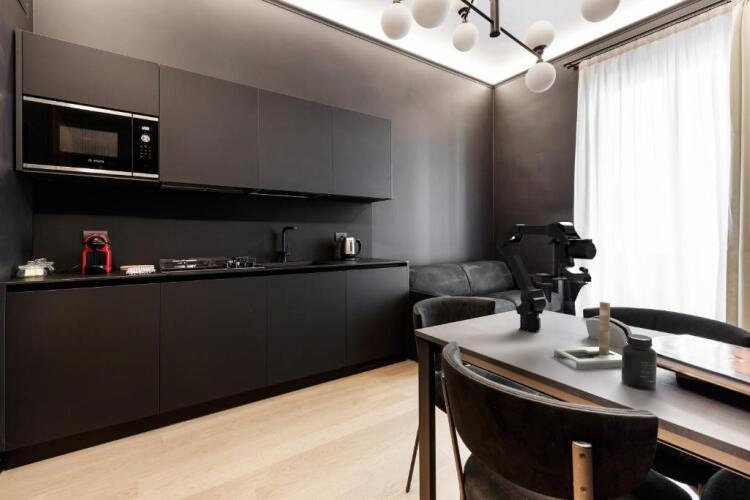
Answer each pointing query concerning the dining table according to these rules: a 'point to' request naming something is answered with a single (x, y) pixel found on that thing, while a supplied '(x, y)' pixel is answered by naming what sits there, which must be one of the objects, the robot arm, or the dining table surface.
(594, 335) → the grey curved piece
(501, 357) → the dining table surface
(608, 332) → the peg
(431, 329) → the dining table surface
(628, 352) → the supplement bottle
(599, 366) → the keyhole board
